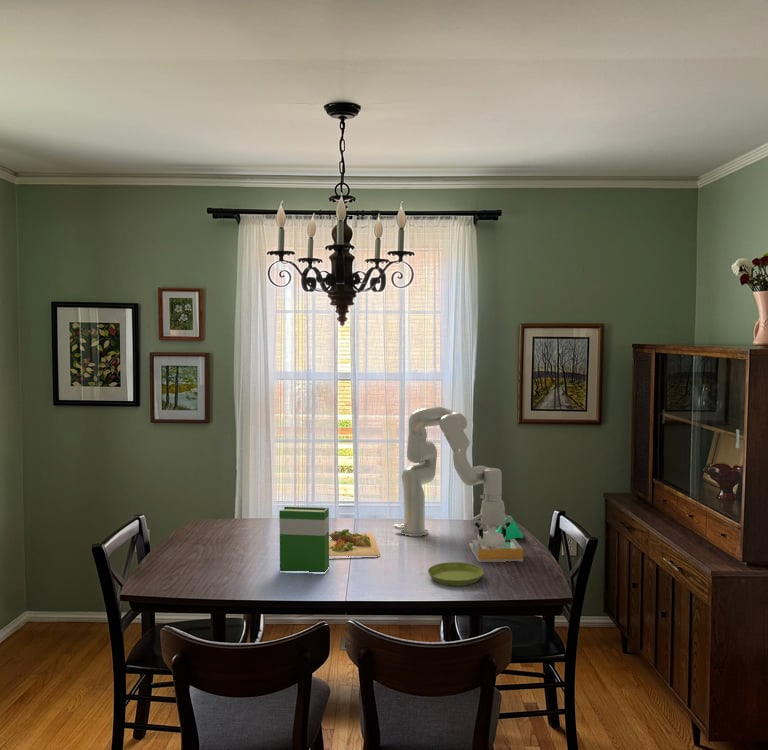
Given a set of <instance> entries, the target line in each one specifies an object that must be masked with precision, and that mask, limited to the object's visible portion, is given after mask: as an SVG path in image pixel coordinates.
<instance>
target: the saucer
mask: <svg viewBox="0 0 768 750" xmlns="http://www.w3.org/2000/svg"><path fill="white" fill-rule="evenodd" d="M427 573H428V574H429V576H430V577H431V578H432V580H434V581H435V582H436V583H438V584H441V585H445V586H451V587H453V586H455V587H462V586H469V585H473V584H475V583H476V582H478V581H479V580H480V579H481V578H482V577H483V575H484V569H483V568H482V567H480V566H478V565H475V564H472V563H468V562H460V561H459V562H453V561H452V562H442V563H437V564H434V565H431V566H430V567H428V570H427Z"/></svg>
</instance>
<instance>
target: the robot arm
mask: <svg viewBox="0 0 768 750" xmlns="http://www.w3.org/2000/svg"><path fill="white" fill-rule="evenodd" d="M435 426H439V429H440V430H441V432H442V433H443V435H444V437H445V439H446V441H447V443H448V444H449V446H450V448H451V450H452V452H453V453H452V460H453V466H454V469H455V471H456V473H457V475H458V477H459V478H460V480H461V481H462V482H463V484H465V485H466V486H471V487H472V486H476V485H479V484H483V493H482V494H480V495H479V497H480V499H482V501H481V506H480V513H479V514H477V515H476V516H474V517H472V519H471V520H472V522H473V524H474V525H475V527H477V528H478V534H479V536H481V539H482V538H483V532H484V529H483V528H484V526H486V525H498V526H501V525H502V526H503V527H502V534H503V537H504V538H505V536H506V529H507V527H508V526H509V525H510V524H511V522H512V520H514V518H513V517H512V516H511V515H507V514H506V509H505V502H504V500H502V494H503V493H502V490H503V489H502V487H503V485H502V481H503V480H502V477H503V476H502V469H500V468H498V467H497V468H495V467H488V466H485V465H477V466H476V465H475V466H471V464H470V463H469V460H468V458H467V451H468V448H469V446H470V445H471V441H470V439H469V438H468V435H467V434H466V432H465V430H466V428H467V426H468V420H467V418H466V417H465V415H463V414H462V413H461V412H458V411H456V410H455V411H454V410H451V409H449V408H445V407H444V406H443V407H442V406H432V407H423V408H419V409H416V410H415V411H413V412H412V413H411V414H410V416H409V418H408V436H407V447H406V448H407V449H406V450H407V451H406V459H407V460H408V461H409V463H413V465H409V466H407V467H406V468H404V470H403V471H402V473H401V480H402V485H403V500H404V501H403V502H404V503H403V505H404V507H403V509H404V510H403V511H404V512H403V513H404V515H403V519H404V521H403V522H402V523H401V524H394V525H393V526H394V530H397V531H398V530H400V533H403V534H405V535H404V536H406V535H410V536H409V537H423V536H422V535H424V536H426V534H427V535H428V534H429V530H428V529H427V528H426V527H425V522H426V519H425V517H426V515H425V512H426V511H425V507H426V506H425V502H426V501H425V498H426V497H425V491H424V488H423V485H426V484H429V483H431V482H432V481H433V480H434V479H435V476H436V472H437V471H436V469H437V460H438V459H437V458H438V452H437V448H436V445H435V443H433V442H432V441H430V440H427V438H428V432H427V429H426V427H435ZM417 463H418V464H417ZM510 516H511V517H512V518H513V519H512V518H511V517H510ZM505 518H507V519H508V521H507V523H506V524H505ZM478 520H479V521H480V523H479V522H478ZM403 534H402V535H403Z"/></svg>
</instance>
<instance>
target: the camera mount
mask: <svg viewBox="0 0 768 750" xmlns="http://www.w3.org/2000/svg"><path fill="white" fill-rule="evenodd" d="M509 516H510V517H511V518H512V519H513V520H512V522H511V524H510V525H509V526H508V527H507V529H506V536H505V541H511V539H515V540H516V539H523V538H524V537H523V536H524V534H523V533H522V531H521V529H520V528H519V526H518V525H517V524H516V522H515V520H514V518H513V517H512V516H511V515H509ZM507 522H508V519H507V518H505V524H506V523H507ZM502 527H503V526H502V525H499V527H498V529H495V532H499V533H501V534H502Z"/></svg>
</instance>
